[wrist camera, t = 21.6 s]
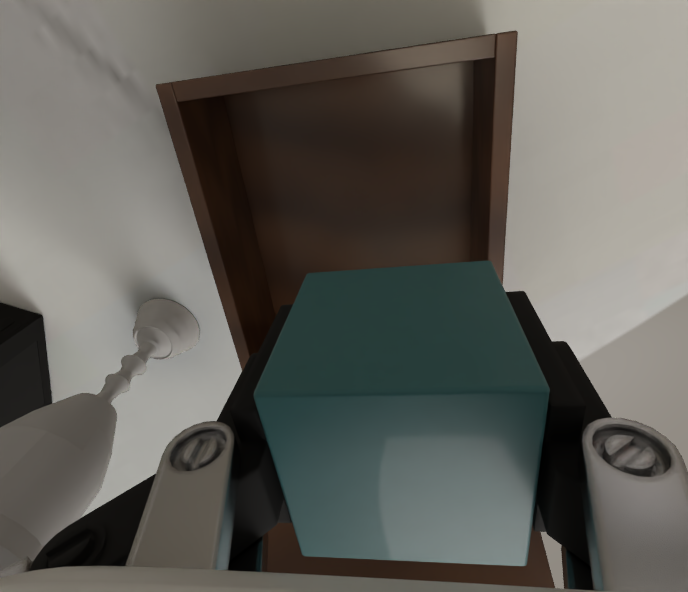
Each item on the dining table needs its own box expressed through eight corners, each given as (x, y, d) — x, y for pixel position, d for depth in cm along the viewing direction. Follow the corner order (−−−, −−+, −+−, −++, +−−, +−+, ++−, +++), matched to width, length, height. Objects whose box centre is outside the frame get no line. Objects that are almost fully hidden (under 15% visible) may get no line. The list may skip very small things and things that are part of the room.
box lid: (48, 853, 11) (132, 860, 15) (657, 971, 9) (603, 950, 12) (240, 380, 25) (262, 435, 29) (499, 375, 23) (492, 435, 26)
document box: (211, 79, 24) (154, 84, 18) (488, 38, 21) (518, 29, 16) (271, 325, 31) (244, 380, 26) (479, 316, 29) (497, 375, 24)
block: (331, 405, 13) (301, 558, 9) (305, 271, 11) (250, 394, 7) (486, 403, 12) (528, 568, 8) (492, 258, 10) (552, 388, 6)
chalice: (193, 281, 30) (-26, 511, 15) (225, 356, 34) (72, 611, 18) (108, 295, 32) (-172, 516, 16) (146, 365, 35) (-59, 607, 19)
